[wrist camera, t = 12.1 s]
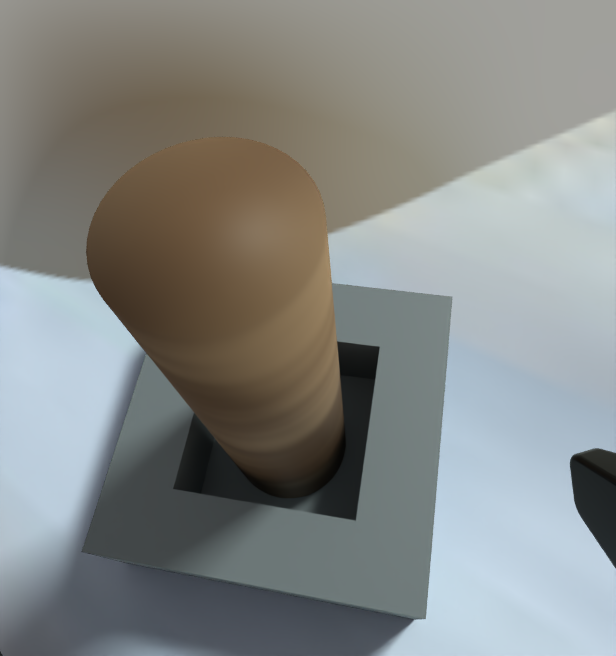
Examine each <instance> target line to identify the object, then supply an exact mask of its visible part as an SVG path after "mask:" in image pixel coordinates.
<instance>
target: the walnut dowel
mask: <svg viewBox="0 0 616 656" xmlns="http://www.w3.org/2000/svg"><path fill="white" fill-rule="evenodd" d="M86 254H87V264H88V268H89V272H90V276H91V279H92V281H93V283H94V285H95V287H96V289H97V291H98V292H99V294H100V295H101V297H102V298H103V300H104V301H105V302H106V304H107V305H108V306H109V307H110V309H111V310H112V311H113V312H114V314H115V315H116V316H117V317H118V318H119V320H120V321H121V322H122V323H123V325H124V326H125V327H126V328H127V330H128V331H129V332H130V333H131V335H132V336H133V337H134V338H135V340H136V341H137V342H138V343H139V345H140V346H141V347H142V348H143V350H144V351H145V352H146V353H147V355H148V356H149V357H150V358H151V360H152V361H153V362H154V363H155V364H156V366H157V367H158V368H159V369H160V371H161V372H162V373H163V374H164V376H165V377H166V378H167V379H168V381H169V382H170V383H171V384H172V386H173V387H174V388H175V389H176V391H177V392H178V393H179V394H180V396H181V397H182V398H183V399H184V401H185V402H186V403H187V404H188V406H189V407H190V408H191V409H192V410H193V412H194V413H195V414H196V415H197V417H198V418H199V419H200V420H201V422H202V423H203V424H204V425H205V427H206V428H207V429H208V430H209V432H210V433H211V434H212V435H213V437H214V438H215V439H216V440H217V442H218V443H219V444H220V445H221V447H222V448H223V449H224V450H225V452H226V453H227V454H228V455H229V456H230V458H231V459H232V460H233V461H234V463H235V464H236V465H237V466H238V468H239V469H240V470H241V471H242V473H243V474H244V475H245V476H246V478H247V479H248V480H249V481H250V482H251V483H252V484H253V485H254V486H255V487H257V488H258V489H259V490H261V491H263V492H264V493H267V494H269V495H271V496H275V497H280V498H298V497H303V496H306V495H309V494H312V493H314V492H316V491H317V490H319V489H321V488H322V487H323V486H325V485H326V484H327V483H328V482H329V481H330V480H331V479H332V478H333V477H334V475H335V474H336V473H337V471H338V469H339V467H340V466H341V463H342V461H343V458H344V454H345V447H346V437H345V425H344V414H343V403H342V392H341V381H340V369H339V358H338V347H337V336H336V325H335V314H334V302H333V291H332V280H331V269H330V258H329V247H328V235H327V224H326V215H325V209H324V203H323V200H322V198H321V194H320V192H319V190H318V188H317V186H316V184H315V182H314V181H313V179H312V178H311V177H310V175H309V174H308V173H307V171H306V170H305V169H304V168H303V167H302V166H301V165H300V164H299V163H298V162H297V161H295V160H294V159H292V158H291V157H290V156H288V155H287V154H285V153H283V152H282V151H280V150H278V149H276V148H274V147H271V146H269V145H266V144H264V143H261V142H257V141H253V140H249V139H242V138H234V137H211V138H202V139H196V140H192V141H187V142H184V143H179V144H176V145H174V146H171V147H168V148H165V149H164V150H161V151H159V152H157V153H155V154H153V155H151V156H149V157H147V158H146V159H144V160H143V161H141V162H139V163H138V164H136V165H135V166H134V167H133V168H131V169H130V170H129V171H127V172H126V173H125V174H124V175H123V176H122V177H121V178H120V179H118V181H117V182H116V183H115V184H114V185H113V186H112V187H111V189H110V190H109V191H108V192H107V194H106V195H105V197H104V198H103V199H102V201H101V202H100V204H99V207H98V208H97V210H96V212H95V214H94V216H93V219H92V222H91V225H90V228H89V233H88V238H87V249H86Z"/></svg>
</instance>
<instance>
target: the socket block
mask: <svg viewBox="0 0 616 656" xmlns="http://www.w3.org/2000/svg"><path fill="white" fill-rule="evenodd" d="M332 291H333V302H334V314H335V325H336V336H337V347H338V358H339V369H340V381H341V392H342V403H343V414H344V425H345V437H346V447H345V454H344V458H343V461H342V463H341V466H340V467H339V469H338V471H337V473H336V474H335V475H334V477H333V478H332V479H331V480H330V481H329V482H328V483H327V484H326V485H325V486H323V487H322V488H321V489H319V490H317V491H316V492H314V493H312V494H309V495H306V496H303V497H298V498H280V497H275V496H271V495H269V494H267V493H264V492H263V491H261V490H259V489H258V488H257V487H255V486H254V485H253V484H252V483H251V482H250V481H249V480H248V479H247V478H246V476H245V475H244V474H243V473H242V471H241V470H240V469H239V468H238V466H237V465H236V464H235V463H234V461H233V460H232V459H231V458H230V456H229V455H228V454H227V453H226V452H225V450H224V449H223V448H222V447H221V445H220V444H219V443H218V442H217V440H216V439H215V438H214V437H213V435H212V434H211V433H210V432H209V430H208V429H207V428H206V427H205V425H204V424H203V423H202V422H201V420H200V419H199V418H198V417H197V415H196V414H195V413H194V412H193V410H192V409H191V408H190V407H189V406H188V404H187V403H186V402H185V401H184V399H183V398H182V397H181V396H180V394H179V393H178V392H177V391H176V389H175V388H174V387H173V386H172V384H171V383H170V382H169V381H168V379H167V378H166V377H165V376H164V374H163V373H162V372H161V371H160V369H159V368H158V367H157V366H156V364H155V363H154V362H153V361H152V360H151V358H150V357H149V356H148V355H147V353H146V356H145V359H144V362H143V365H142V368H141V371H140V374H139V377H138V380H137V383H136V386H135V389H134V392H133V395H132V399H131V402H130V405H129V408H128V411H127V414H126V417H125V420H124V423H123V426H122V429H121V432H120V435H119V439H118V442H117V445H116V448H115V451H114V454H113V457H112V460H111V463H110V466H109V469H108V472H107V475H106V479H105V482H104V485H103V488H102V491H101V494H100V497H99V500H98V503H97V506H96V509H95V512H94V515H93V519H92V522H91V525H90V528H89V531H88V534H87V537H86V540H85V543H84V546H83V549H82V552H84V553H88V554H92V555H96V556H100V557H104V558H108V559H112V560H116V561H120V562H124V563H130V564H135V565H140V566H145V567H150V568H155V569H160V570H165V571H170V572H176V573H181V574H186V575H191V576H196V577H201V578H206V579H211V580H216V581H221V582H227V583H232V584H237V585H242V586H247V587H252V588H257V589H262V590H267V591H273V592H278V593H283V594H288V595H293V596H298V597H303V598H308V599H313V600H318V601H324V602H329V603H334V604H339V605H344V606H349V607H354V608H359V609H364V610H370V611H375V612H380V613H385V614H390V615H395V616H400V617H405V618H410V619H426V609H427V597H428V585H429V573H430V561H431V549H432V537H433V525H434V512H435V500H436V488H437V476H438V464H439V452H440V440H441V428H442V416H443V404H444V392H445V380H446V368H447V356H448V344H449V331H450V319H451V307H452V297H449V296H440V295H432V294H423V293H414V292H405V291H396V290H387V289H378V288H369V287H360V286H352V285H343V284H334V283H332Z"/></svg>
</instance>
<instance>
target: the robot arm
mask: <svg viewBox="0 0 616 656" xmlns="http://www.w3.org/2000/svg"><path fill="white" fill-rule="evenodd" d="M570 469H571V478H572V486H573V494H574V501H575V505H576V508H577V510H578V513H579V515H580V516H581V518H582V519H583V521H584V522H585V524H586V525H587V527H588V528H589V530H590V531H591V533H592V534H593V536H594V537H595V539H596V540H597V542H598V543H599V545H600V546H601V548H602V549H603V550H604V552H605V553H606V555H607V556H608V558H609V559H610V561H611V562H612V564H613V565H614V567H615V568H616V453H614V452H610V451H606V450H603V449H599V448H595V449H591V450H588V451H584V452H581V453H577V454H574V455H573V456H572V457H571V460H570ZM0 656H2V654H1V652H0Z"/></svg>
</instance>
